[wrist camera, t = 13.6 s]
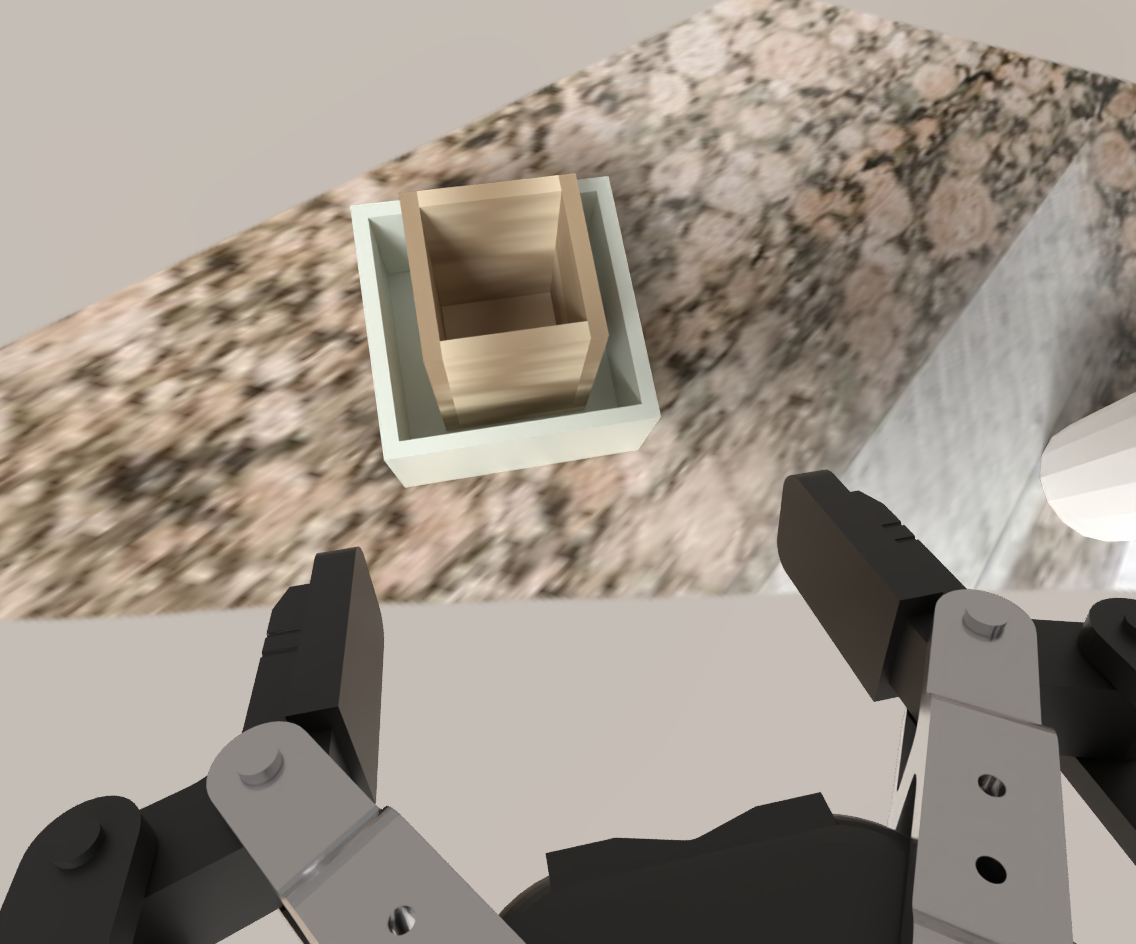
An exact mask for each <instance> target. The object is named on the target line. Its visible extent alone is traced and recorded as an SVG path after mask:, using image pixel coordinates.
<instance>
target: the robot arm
mask: <svg viewBox="0 0 1136 944" xmlns="http://www.w3.org/2000/svg"><path fill="white" fill-rule="evenodd" d="M777 547H778V553H779V557H780V561H781V563H782V566H783V568H784V570H785V571H786V573H787V574H788V576H789V577H790V579H791V580H792V582H793V583H794V585H795V586H796V588H797V589H798V591H799V592H800V594H801V595H802V597H803V598H804V600H805V601H806V602H807V604H808V605H809V607H810V608H811V610H812V611H813V613H814V614H815V616H816V617H817V618H818V620H819V622H820V623H821V625H822V626H823V627H824V629H825V631H826V632H827V633H828V635H829V636H830V638H831V639H832V641H833V642H834V644H835V645H836V647H837V648H838V650H839V651H840V653H841V654H842V655H843V657H844V658H845V660H846V661H847V663H848V664H849V665H850V667H851V669H852V670H853V672H854V673H855V675H856V676H857V678H858V679H859V680H860V682H861V684H862V685H863V687H864V688H865V689H866V691H867V692H868V694H869V695H870V697H871V698H872V700H873V701H874V702H876V701H880V700H885V699H890V698H895V697H899V698H900V699H901V700H902V702H903V703H904V705H905V706H906V709H905V712H904V716H903V719H902V727H901V734H900V742H899V749H898V757H897V765H896V772H895V780H894V787H893V795H892V802H891V808H890V814H889V819H888V823H887V827H886V826H883V825H881V824H879V823H876V822H873V821H869V820H865V819H862V818H858V817H853V816H847V815H840V814H832V813H831V811H830V809H829V807H828V805H827V803H826V801H825V800H824V797H823V795H822V794H821V792H819V793H815V794H810V795H806V796H801V797H797V798H792V799H788V800H783V801H779V802H774V803H770V804H765V805H761V806H756V807H754V808H752V809H750V810H748V811H747V812H745V813H743V814H741V815H739V816H737V817H736V818H734V819H732V820H730V821H728V822H726V823H725V824H723V825H721V826H719V827H717V828H715V829H714V830H712V831H710V832H708V833H706V834H704V835H702V836H701V837H699V838H696V839H693V840H658V839H635V838H633V839H632V838H612V839H608V840H604V841H599V842H594V843H590V844H586V845H581V846H576V847H572V848H567V849H563V850H559V851H554V852H549V853H546V859H547V865H548V871H549V876H547V877H546V878H544V879H542V880H540V881H538V882H536V883H534V884H533V885H532V886H530V887H529V888H527V889H526V890H525V891H523V892H522V893H520V894H519V895H518V896H517V897H516V898H515V899H514V900H512V902H510V903H509V904H508V905H507V906H506V907H505V908H504V909H503V910H502V911H501V913H500V914H499V915H497V913H496V912H495V911H494V910H493V909H492V908H491V907H490V906H489V905H488V904H487V903H486V902H485V901H484V900H483V899H482V898H481V897H480V896H479V895H478V894H477V893H476V892H475V891H474V890H473V889H472V888H471V886H470V885H469V884H468V883H466V881H465V880H464V879H463V878H462V877H461V876H460V875H459V874H458V873H457V872H456V871H455V870H454V869H453V868H452V867H451V866H450V865H449V864H448V863H447V862H446V861H445V860H444V859H443V858H442V857H441V856H440V855H439V854H438V853H437V851H436V850H435V849H433V847H431V845H430V844H429V843H428V842H427V841H426V840H425V839H424V838H423V837H422V836H421V835H420V834H419V833H418V832H417V831H416V830H415V829H414V828H413V827H412V826H411V825H410V824H409V823H408V822H407V821H406V820H405V819H404V818H403V817H402V816H401V815H400V814H399V813H398V812H397V811H396V810H394V809H393V808H391V807H389V806H386V807H384V808H383V809H380V808H379V807H377V806H376V805H375V804H376V789H377V768H378V748H379V730H380V709H381V691H382V670H383V651H384V632H383V623H382V617H381V612H380V608H379V604H378V601H377V598H376V594H375V591H374V588H373V584H372V581H371V578H370V574H369V571H368V568H367V564H366V561H365V558H364V554H363V552H362V550H361V548H360V547H353V548H347V549H341V550H335V551H329V552H323V553H318V554H316V556H315V559H314V564H313V570H312V575H311V580H310V584H304V585H298V586H293V587H289V588H288V590H287V591H286V592H285V594H284V595H283V596H282V598H281V599H280V600H279V602H278V603H277V604H276V606H275V607H274V608H273V609H272V613H271V617H270V622H269V626H268V630H267V638H265V642H264V646H263V650H262V657H261V658H260V662H259V666H258V670H257V674H256V679H255V683H254V687H253V691H252V695H251V699H250V703H249V707H248V711H247V716H246V719H245V723H244V727H243V731H242V734H240V735H238V736H237V737H236V738H234V739H233V740H232V741H230V742H229V743H228V744H227V745H226V746H225V747H224V748H223V749H222V750H221V752H220V753H219V754H218V755H217V757H216V758H215V760H214V762H213V763H212V765H211V767H210V770H209V772H208V775H207V776H206V777H205V778H203V779H201V780H200V781H198V782H197V783H195V784H193V785H191V786H189V787H187V788H185V789H183V790H181V791H179V792H177V793H175V794H173V795H170V796H168V797H166V798H164V799H162V800H160V801H157V802H155V803H153V804H151V805H149V806H147V807H145V808H142V809H140V810H139V809H138V807H137V806H136V805H135V803H133V802H132V801H131V800H129V799H127V798H124V797H120V796H104V797H98V798H95V799H92V800H88V801H86V802H83V803H81V804H79V805H77V806H75V807H73V808H71V809H69V810H68V811H66V812H65V813H63V814H62V815H61V816H59V817H57V818H56V819H55V820H54V821H53V822H51V823H50V824H49V825H48V826H47V827H46V828H45V829H44V830H43V831H42V832H41V833H40V834H39V835H38V836H37V837H36V838H35V839H34V841H33V842H32V843H31V844H30V846H29V847H28V849H27V851H26V852H25V854H24V856H23V858H22V860H21V862H20V864H19V867H18V869H17V871H16V874H15V876H14V879H13V881H12V883H11V886H10V888H9V891H8V893H7V896H6V898H5V900H4V903H3V905H2V908H1V910H0V944H216V943H217V942H219V941H221V940H223V939H225V938H226V937H228V936H230V935H232V934H234V933H235V932H237V931H239V930H241V929H243V928H244V927H246V926H248V925H250V924H251V923H253V922H255V921H257V920H259V919H260V918H262V917H264V916H266V915H268V914H269V913H271V912H273V911H275V910H276V909H277V910H278V911H279V912H280V914H281V915H282V917H283V918H284V920H285V921H286V922H287V924H288V925H289V927H290V928H291V929H292V931H293V932H294V933H295V935H296V936H297V937H298V939H299V941H300V942H301V943H302V944H1076V943H1075V942H1073V937H1072V936H1073V935H1072V922H1071V909H1070V897H1069V896H1070V895H1069V881H1068V869H1067V855H1066V840H1065V827H1064V813H1063V801H1062V787H1061V773H1060V771H1061V772H1062V773H1063V774H1064V776H1065V777H1066V778H1067V780H1068V781H1069V782H1070V783H1071V784H1072V786H1073V787H1074V788H1075V790H1076V791H1077V792H1078V793H1079V795H1080V796H1081V797H1082V799H1083V800H1084V801H1085V802H1086V803H1087V805H1088V806H1089V807H1090V809H1091V810H1092V811H1093V812H1094V814H1095V815H1096V816H1097V817H1098V819H1099V820H1100V821H1101V823H1102V824H1103V825H1104V826H1105V827H1106V829H1107V830H1108V831H1109V833H1110V834H1111V835H1112V836H1113V837H1114V839H1115V840H1116V841H1117V842H1118V844H1119V845H1120V846H1121V848H1122V849H1123V850H1124V852H1125V853H1126V854H1127V855H1128V857H1129V858H1130V859H1131V860H1132V861H1133V863H1134V864H1135V865H1136V600H1134V599H1127V598H1111V599H1110V598H1109V599H1105V600H1101V601H1099V602H1097V603H1096V604H1095V605H1093V606H1092V608H1091V609H1090V611H1089V614H1088V615H1087V618H1086V620H1085V622H1084V623H1081V622H1065V621H1051V620H1036V619H1035V620H1034V619H1031V618H1030V617H1029V616H1028V615H1027V614H1026V613H1025V612H1024V611H1023V610H1022V609H1021V608H1020V607H1018V606H1017V605H1015V604H1014V603H1012V602H1011V601H1009V600H1007V599H1005V598H1003V597H1001V596H998V595H995V594H992V593H989V592H985V591H980V590H971V589H966V588H965V587H964V586H963V585H962V583H961V582H960V581H959V580H958V579H957V578H956V577H955V576H954V575H953V574H952V573H951V572H950V571H949V570H948V569H947V568H946V567H945V566H944V565H943V564H942V563H941V562H940V561H939V560H938V559H937V558H936V557H935V556H934V555H933V554H932V553H931V552H930V551H929V550H928V549H927V548H926V547H925V546H924V545H923V544H922V543H921V542H920V541H919V540H916V539H915V535H914V534H913V533H912V532H911V531H910V530H909V529H908V528H907V527H906V526H905V525H901V521H900V520H899V519H898V518H897V517H896V516H895V515H894V514H893V513H892V512H891V511H890V510H889V509H888V508H887V507H886V506H885V505H884V504H883V503H881V502H879V501H877V500H875V499H873V498H872V497H870V496H868V495H866V494H864V493H862V492H860V491H853V492H850V491H849V490H848V489H847V488H846V487H845V486H844V485H843V484H842V483H841V481H840V480H839V479H838V478H837V477H836V476H835V475H834V474H833V473H832V472H831V471H829V470H820V471H814V472H808V473H802V474H796V475H790V476H788V477H787V478H786V479H785V482H784V486H783V493H782V502H781V511H780V519H779V528H778V536H777Z"/></svg>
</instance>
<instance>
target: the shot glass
mask: <svg viewBox="0 0 1136 944" xmlns="http://www.w3.org/2000/svg"><path fill="white" fill-rule="evenodd" d="M1040 480H1041V483H1042V486H1043V490H1044V493H1045V496H1046V499H1047V502H1048V503H1049V505H1050V506H1051V507H1052V509H1053V510H1054V511H1055V513H1056V514H1057V515H1058V517H1059V518H1060V519H1061V521H1062V522H1063V523H1065V524H1066V525H1068V526H1069V527H1071V528H1072V529H1074V530H1075V531H1077V532H1078V533H1080V534H1081V535H1083V536H1085V537H1090V538H1094V539H1098V540H1102V541H1106V542H1109V541H1136V392H1135V393H1133V394H1131V395H1129V396H1127V397H1125V398H1123V399H1121V400H1119V401H1117V402H1115V403H1113V404H1111V405H1109V406H1107V407H1105V408H1103V409H1101V410H1099V411H1097V412H1095V413H1093V414H1091V415H1088V416H1086V417H1084V418H1082V419H1080V420H1078V421H1076V422H1074V423H1072V424H1070V425H1068V426H1067V427H1066V428H1064V429H1063V430H1061V431H1060V432H1058V433H1057V434H1055V435H1054V436H1053V437H1051V439H1050V441H1049V443H1048V445H1047V446H1046V448H1045V450H1044V452H1043V454H1042V456H1041V470H1040Z"/></svg>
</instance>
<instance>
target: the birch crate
mask: <svg viewBox="0 0 1136 944" xmlns="http://www.w3.org/2000/svg"><path fill="white" fill-rule="evenodd" d="M399 199H400V206H401V213H402V219H403V226H404V233H405V240H406V247H407V253H408V260H409V267H410V274H411V281H412V287H413V294H414V301H415V308H416V315H417V321H418V328H419V335H420V342H421V349H422V355H423V362H424V365H425V368H426V371H427V374H428V377H429V380H430V383H431V386H432V389H433V392H434V395H435V398H436V401H437V404H438V407H439V410H440V413H441V416H442V419H443V421H444V424H445V427H446V430H447V431H450V430H456V429H463V428H469V427H476V426H483V425H489V424H496V423H502V422H509V421H516V420H522V419H529V418H535V417H542V416H549V415H555V414H562V413H568V412H575V411H582V410H585V407H586V404H587V401H588V398H589V395H590V392H591V389H592V386H593V383H594V380H595V377H596V374H597V371H598V368H599V365H600V362H601V358H602V355H603V352H604V349H605V346H606V343H607V340H608V337H609V333H608V328H607V323H606V318H605V313H604V309H603V304H602V299H601V294H600V289H599V284H598V279H597V275H596V270H595V265H594V260H593V255H592V250H591V245H590V241H589V236H588V231H587V226H586V221H585V216H584V211H583V206H582V202H581V197H580V192H579V187H578V182H577V177H576V173H573V174H564V175H555V176H546V177H538V178H529V179H520V180H511V181H502V182H493V183H484V184H476V185H467V186H458V187H449V188H440V189H431V190H422V191H413V192H405V193H399Z"/></svg>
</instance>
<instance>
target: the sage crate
mask: <svg viewBox="0 0 1136 944" xmlns="http://www.w3.org/2000/svg"><path fill="white" fill-rule="evenodd" d="M577 182H578V187H579V192H580V197H581V202H582V206H583V211H584V216H585V221H586V226H587V231H588V236H589V241H590V245H591V250H592V255H593V260H594V265H595V270H596V275H597V279H598V284H599V289H600V294H601V299H602V304H603V309H604V313H605V318H606V323H607V328H608V333H609V337H608V340H607V343H606V346H605V349H604V352H603V355H602V358H601V362H600V365H599V368H598V371H597V374H596V377H595V380H594V383H593V386H592V389H591V392H590V395H589V398H588V401H587V404H586V407H585V410H582V411H575V412H568V413H562V414H555V415H549V416H542V417H535V418H529V419H522V420H516V421H509V422H502V423H496V424H489V425H483V426H476V427H469V428H463V429H456V430H450V431H447V430H446V427H445V424H444V421H443V419H442V416H441V413H440V410H439V407H438V404H437V401H436V398H435V395H434V392H433V389H432V386H431V383H430V380H429V377H428V374H427V371H426V368H425V365H424V362H423V355H422V349H421V342H420V335H419V328H418V321H417V315H416V308H415V301H414V294H413V287H412V281H411V274H410V267H409V260H408V253H407V247H406V240H405V233H404V226H403V219H402V213H401V206H400V200H396V201H387V202H379V203H370V204H361V205H353V206H350V208H351V215H352V223H353V230H354V238H355V245H356V253H357V260H358V268H359V275H360V283H361V290H362V298H363V305H364V313H365V320H366V328H367V335H368V343H369V350H370V358H371V365H372V373H373V380H374V388H375V395H376V403H377V410H378V418H379V425H380V433H381V440H382V448H383V455H384V461H385V462H386V463H387V465H388V466H389V467H390V468H391V470H392V471H393V472H394V474H395V475H396V476H397V478H398V479H399V480H400V482H401V483H402V484H403V485H404V487H405V488H406V487H412V486H418V485H424V484H430V483H437V482H443V481H449V480H455V479H461V478H468V477H474V476H480V475H486V474H492V473H499V472H505V471H511V470H517V469H523V468H529V467H536V466H542V465H548V464H554V463H560V462H567V461H573V460H579V459H585V458H591V457H597V456H604V455H610V454H616V453H622V452H628V451H635V450H638V449H639V448H640V446H641V445H642V443H643V442H644V440H645V439H646V438H647V436H648V435H649V433H650V432H651V430H652V429H653V428H654V426H655V425H656V423H657V422H658V420H659V419H660V418H661V414H660V410H659V405H658V400H657V396H656V391H655V387H654V382H653V378H652V373H651V368H650V364H649V359H648V355H647V350H646V346H645V341H644V336H643V332H642V327H641V323H640V318H639V313H638V309H637V304H636V300H635V295H634V291H633V286H632V281H631V277H630V272H629V268H628V263H627V259H626V254H625V249H624V245H623V240H622V236H621V231H620V226H619V222H618V217H617V213H616V208H615V204H614V199H613V194H612V190H611V185H610V181H609V176H603V177H595V178H586V179H577Z"/></svg>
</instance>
